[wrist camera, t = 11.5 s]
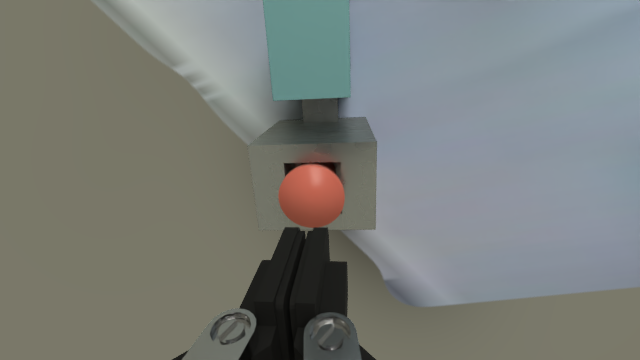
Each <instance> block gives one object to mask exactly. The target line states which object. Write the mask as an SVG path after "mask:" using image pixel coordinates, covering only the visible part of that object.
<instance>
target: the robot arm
mask: <svg viewBox="0 0 640 360" xmlns="http://www.w3.org/2000/svg"><path fill="white" fill-rule="evenodd" d="M347 292H348V281H347V262H335V261H334V262H333V261H330V257H329V235H328V227H314V228H313V231H308V234H307V238H306V239H305V231H300V228H299V227H285V228H284V231H283V233H282V235H281V238H280V240H279V242H278V245H277V247H276V250H275V252H274V254H273V257H272V259H271V260H263V261H262V262H261V263H260V266H259V268H258V270H257V272H256V274H255V276H254V278H253V280H252V283H251V285H250V287H249V289H248V291H247V293H246V295H245V298H244V300H243V302H242V304H241V306H240V308H239V309H231V310H227V311H225V312H223V313H221V314H219V315H218V316H216V317H215V318H214V319H213V320H212V321H211V322H210V323H209V324H208V325H207V327H206V328H205V329H204V331H203V332H202V333H201V335H200V336H199V337H198V339H197V340H196V342H195V343H194V344H193V345H192V347H191V348H190V349H189V350H188V351H186V352H185V353H183V354H181V355H179V356H178V357H176V358H174V359H173V360H376V359H375V358H374V357H372V356H371V355H370V354H369V353H368V352H367V351H366V350H365V349H363V348H362V347H361V346H360V345H359V343H358V338H357V333H356V329H355V327H354V324H353V323H352V322H351V320H350V319H349V318H347V300H348V298H347V296H348V293H347Z"/></svg>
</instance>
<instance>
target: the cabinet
mask: <svg viewBox="0 0 640 360" xmlns="http://www.w3.org/2000/svg"><path fill="white" fill-rule="evenodd" d="M247 147H248V154H249V162H250V168H251V176H252V183H253V191H254V197H255V205H256V212H257V219H258V227H259V230H284V228H285V227H299V228H300V230H313V228H308V227H304V226H300V225H298V224H296V223H294V222H293V221H291V220H290V219H289V218H288V217H287V216H286V215H285V214H284V212H283V211H282V209H281V207H280V204H279V197H278V194H279V188H280V186H281V183H282V181H283V180H284V178H285V176H286V175H287V174H288V173H289V172H290V171H291V170H293V169H294V168H296V167H298V166H300V165H301V164H302V163H314V162H332V163H333V164H334V166H335V168H336V175H337V176H338V177H339V178H340V180H341V182H342V184H343V187H344V193H345V201H344V206H343V209H342V211H341V213H340V215H339V216H338V217H337V218H336V219H335V220H334V221H333V222H331V223H330V224H328V225H325V226H322V227H328V230H372V229H375V228H376V162H377V141H376V139H375V137H374V134H373V132H372V130H371V128H370V126H369V123H368V121H367V119H366V117H354V118H338V122H316V123H303V120H280V121H278V122H277V123H276V124H275V125H273V126H272V127H271V128H269V129H268V130H267V131H266V132H264V133H263V134H262V135H261V136H259V137H258V138H257V139H255V140H254V141H253V142H252V143H250V144H249V145H248V146H247Z"/></svg>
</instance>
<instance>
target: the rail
mask: <svg viewBox="0 0 640 360" xmlns="http://www.w3.org/2000/svg"><path fill="white" fill-rule="evenodd" d="M302 111H303V123H316V122H338V98H322V99H302Z"/></svg>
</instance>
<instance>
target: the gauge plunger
mask: <svg viewBox="0 0 640 360" xmlns="http://www.w3.org/2000/svg"><path fill="white" fill-rule="evenodd" d="M278 197H279V204H280V207H281V209H282V211H283V212H284V214H285V215H286V216H287V217H288V218H289V219H290V220H291V221H293V222H294V223H296V224H298V225H300V226H304V227H308V228H314V227H322V226H325V225H328V224H330V223H331V222H333V221H334V220H335V219H336V218H337V217H338V216H339V215H340V213H341V211H342V209H343V206H344V201H345V193H344V187H343V184H342V182H341V180H340V178H339V177H338V176H337V175H336V168H335V166H334V164H333V163H332V162H314V163H302V164H301V165H300V166H298V167H296V168H294V169H293V170H291V171H290V172H289V173H288V174H287V175H286V176H285V178H284V180H283V181H282V183H281V186H280V188H279V194H278Z"/></svg>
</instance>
